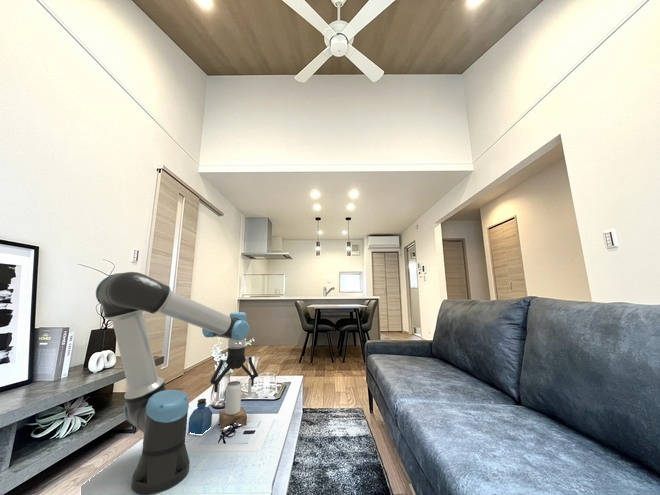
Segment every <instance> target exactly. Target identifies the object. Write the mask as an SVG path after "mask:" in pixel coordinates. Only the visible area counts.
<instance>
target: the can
mask: <svg viewBox="0 0 660 495" xmlns="http://www.w3.org/2000/svg"><path fill="white" fill-rule="evenodd" d="M226 384H227V385H226V387H225V400H224V410H225V414H226V415H235V414H237V413H239V411H240V407H241V405H242V404H241V402H242V401H241V400H242V383H241V381H239V380H232V381H229V382H227V383H226Z"/></svg>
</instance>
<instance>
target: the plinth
mask: <svg viewBox="0 0 660 495" xmlns="http://www.w3.org/2000/svg"><path fill="white" fill-rule="evenodd" d="M247 419H248V414H247V412H246V410H245V409H244V407H243V406H240V411H239V413H237V414H235V415H226V414H225V409H223V410H220V411H219V415H218V422H220V423H219V426H221V427H220V429H223V428H224V427H227V426H229V425H230V424H232V423H239V424H242V425H245V426H247V424H248V422H247V421H248V420H247Z"/></svg>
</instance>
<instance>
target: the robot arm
mask: <svg viewBox="0 0 660 495" xmlns="http://www.w3.org/2000/svg"><path fill="white" fill-rule="evenodd" d="M95 289H96V290H95V298H96V300H97V302H98V303H99V304H100V305H101V306H102V310H103V314H104V315H103V316H104V318H105V319H106V320H109V321H111V322H112V325H113V329H114V335H115V338H116V342H117V343H116V344H117V347H118V351H119V354H120V359H121V363H122V367H123V370H124V371H123V372H124V375H125V379H126V384H127V387H128V389H127V391H126V392H125V393H124V400H125V404H124V410H123V411H124V416H125V420H127V422H128V423H129V424H131V425H132V426H134V427H136V428H137V429H138V430H140V431H141V432H142V433H143V439H142V440H143V441H142V448H141V449H142V450H141V455H140V457H139V460H138V463H137V465H136V467H135V469H134V472H133V475H132V479H131V490H132V491H133V492H134V493H136V494H139V495H140V494H141V495H149V494H150V495H151V494H156V493H160V492H163V491H165V490H169V489H170V488H172V487H174V486H176V485H178V484H179V483H180V482H182V481H183V480H184V479H185V478H186V477H187V476H188V474H189V471H190V462H191V461H190V458H189V454H188V450H187V446H186V436H187V428H188V426H187V424H188V416H189V413H188V412H189V408H190V404H189V395H188V394H187V392H185V391H182V390H180V389H167V387H166V382H165V379H164V377H160V376H159V375H158V371H157V367H156V363H155V362H156V361H155V357H154V354H153V349H152V346H151V342H150V337H149V333H148V327H147V324H146V320H145V315H144V312H146V313H149V314H152V315H153V314H157V313H159V314H163V315H165V316H167V317H171V318H173V319H175V320H179V321H181V322H184V323H187V324H190V325H192V326H195V327H198V328H201V330H202V334H203V336H204V337H205V338H207V339H208V338H215V337H216V338H217V337H218V338H222V339H223V338H224V339H228V341H227V347H228V348H227V357H226V359H221V358H220V359H219V361H218V362H219V363H218V365H217V367H216V369H215V371H214V372H213V375H211V379H210V380H209V381H210V384H211V385H213V386H214V387H213V391H214V392H213V393H215V394H216V397H215V399H216V402H219V400H220V386H221V385H220V382H221V380H222V379H223V378H224V377H225V376H226V375H227V373H228V372H229V371H230V370H235V369H237V370H239V369H240V368H242V369H243V371H244V372H245V373H246V374H247V375H248V376H249V377H248V385H247V387H248V388H247V394H248V395H249V396H251V395H252V387H254V384H255V382H254V381H255V378H258V377H259V374H258V372H257V370H256V367H255V365H254V363H253V357H252V356H251V355H248V356H245V355H246V347H245V346H246V338H247V337H248V335H249V333H250V325H249V323H248V321H247V313H246V312H244V311H242V312H241V311H239V312H231V313H229V315H227V314H225V313H222V312H221V311H218V310H216V309H213V308H211V307H209V306H207V305H204V304H202V303H201V302H200V303H199V302H197V301H195V300H193V299H191V298H188V297H186V296H183V295H181V294H179V293H177V292H174V291H172V288H171V287H170V286H168V285H167V284H164V283H162V282H160V281H159V280H156V279H155V278H152V277H150V276H148V275H146V274H144V273H140V272H137V271H127V272H120V273H119V272H118V273H117V272H116V273H114V274H111V275H109V276H107V277H105V278H103V279H102V280H101V281H100V282H99V283H98V285H97V286H96V288H95ZM245 362H248V365H249V367H250V368H251V371H252V372H250V370H248V368H247V366H245V365H244V363H245ZM225 364H227V365H226V366H225V368H224V369H223V370H222V372H221V369H222V368H223V366H224V365H225ZM220 372H221V373H220ZM219 373H220V374H219ZM252 373H253V374H252Z"/></svg>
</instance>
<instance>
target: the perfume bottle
mask: <svg viewBox="0 0 660 495" xmlns="http://www.w3.org/2000/svg"><path fill="white" fill-rule="evenodd" d="M206 401H207V399H206V398H199V399H198V400H197V403H196V404H197V405H196V407H197V408H195V409H194V410H193V411H192V413H191V414H190V415H189V417H188V426H187V434H188V433H190V432H191V433H195V434H203V433H204V432H205V431H206V430H208V429H209V428H210V427H211V428H212V421H213V411H212V410H211V408H210V406H207V402H206Z"/></svg>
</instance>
